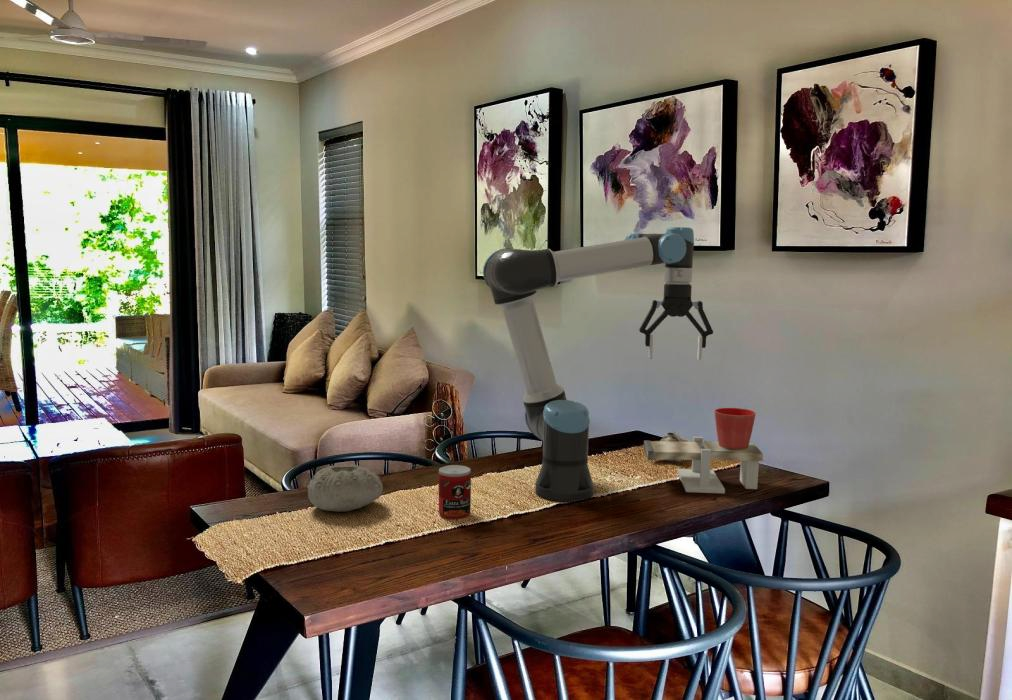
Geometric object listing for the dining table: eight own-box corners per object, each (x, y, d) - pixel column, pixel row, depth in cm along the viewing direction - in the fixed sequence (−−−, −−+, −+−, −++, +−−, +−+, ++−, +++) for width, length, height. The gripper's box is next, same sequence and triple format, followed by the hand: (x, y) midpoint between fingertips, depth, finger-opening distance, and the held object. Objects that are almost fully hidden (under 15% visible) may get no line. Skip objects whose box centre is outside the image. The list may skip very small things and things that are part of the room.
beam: (647, 459, 217) (648, 450, 217) (643, 448, 229) (644, 439, 229) (762, 461, 215) (763, 452, 214) (752, 450, 227) (752, 441, 226)
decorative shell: (329, 493, 209) (329, 455, 208) (394, 499, 204) (393, 460, 203) (294, 515, 192) (293, 473, 190) (363, 522, 187) (363, 480, 186)
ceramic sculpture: (691, 427, 250) (683, 441, 237) (690, 454, 252) (683, 470, 238) (657, 425, 254) (647, 438, 240) (656, 451, 256) (647, 466, 242)
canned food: (441, 520, 189) (442, 475, 188) (435, 510, 197) (435, 465, 195) (473, 518, 191) (474, 473, 190) (466, 507, 199) (466, 464, 197)
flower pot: (749, 441, 226) (750, 407, 224) (757, 451, 215) (759, 415, 214) (710, 441, 227) (711, 406, 225) (716, 450, 216) (717, 415, 215)
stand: (686, 491, 214) (688, 450, 213) (677, 472, 232) (678, 434, 231) (761, 494, 213) (764, 453, 211) (746, 475, 231) (749, 437, 229)
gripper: (633, 282, 223) (631, 359, 226) (726, 284, 222) (722, 361, 224) (631, 281, 231) (629, 355, 234) (721, 283, 229) (717, 358, 232)
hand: (674, 358), depth 229 cm, fingers open, 13 cm apart
